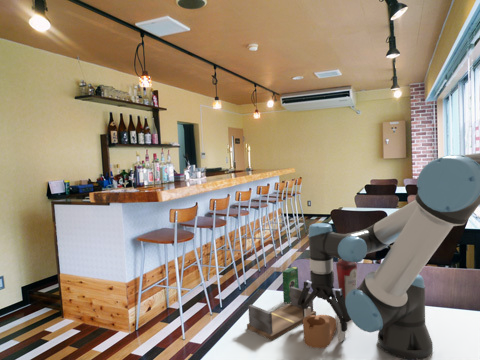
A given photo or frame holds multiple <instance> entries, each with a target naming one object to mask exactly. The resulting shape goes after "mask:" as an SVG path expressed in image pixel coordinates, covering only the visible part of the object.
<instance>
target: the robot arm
mask: <svg viewBox="0 0 480 360" xmlns="http://www.w3.org/2000/svg"><path fill="white" fill-rule="evenodd" d="M416 187H417V193H416V194H415V196H414V200H413V201H411V202H409V203H407V204H406V205H404V206H402V207H401V208H398V209H397V210H395V211H394V212H392V213H390V214H389V215H387V216H385V217H384V218H382V219H380V220H379V221H377V222H375V223H374V224H372V225H371V226H368V227H367V228H364V229H361V230H357V231H353V232H348V233H337V232H334V231H333V227H332V224H329V223H327V222H326V223H325V222H318V223H312V224H310V225H309V227H308V237H307V238H308V247H309V250H308V251H309V269H310V272H309V273H310V279H307V280H305V281H303V288H302V293H301V295H300V298H299V300H298V305H301V306H302V308H303V317H307V316H310V315H311V307H308V306H310V304H311V302H312V301H313V302H314V300H315V299H316V298H318V299H322V300H324V301H326V302H327V303H328V304H329V305H330V307H331V308H332V310H333V311H334V313H335V315H336V316H337V318H338V320H337V331H338V335H337V336H338V342H339V343H342V342H343V341H344V340H346V331H348V323H349V322H350V321H352V323H353V324H354V325H355V326H356V327H357V328H358V329H360V330H361V331H364V332H367V333H375V332H378V333H377V344H378V346H379V347H380V349H382V350H383V351H384V352H385V353H387V354H389V355H391V356H394V357H397V358H400V359H405V360H422V359H426V358H428V357H430V356H431V355H432V354H433V351H434V349H433V348H434V347H433V346H434V345H433V340H432V337H431V335H430V333H429V330H428V326H427V324H426V292H425V291H426V286H425V279H424V278H423V276H422V275H421V274H420V273H421V272H422V270H423V269H424V267H425V266H426V265H427V263H428V262H429V260H430V259H431V258H432V256H433V255H434V254H435V253H436V251H437V250H438V248H439V247H440V246H441V244H442V243H443V242H444V240H445V238H446V237H447V236H448V235H449V233H450V232H451V230H452V229H453V228H454V227H457V226H459V227H460V226H464V225H465V224H466V223H467V221H468V220H469V218H471V217H472V215H473V214H474V212H475V211H476V210H477V209H478V207H479V206H480V153H478V152H477V153H476V152H475V153H468V154H449V155H444V156H442V157H438V158H436V159H433V160H431V161H430V162H429V163H427V164H426V165H425V166H424V167H423V168H422V169H421V171H420V173H419V174H418V176H417V181H416ZM390 244H392V245H391V247H390V249H389V250H388V252H387V253H386V255H385V256H384V258H383V259H382V262H381V263H380V265H379V266H378V267H377V269H376V271H370V272H368V273H367V274H366V276H365V277H364V278H363V280H362V282H361V283H360V285H359V286H358V287H357V289H353V290H351V291H350V292H349V293H348V294H347V295H346V299H345V298H344V296H343V290H342V289H341V288H340V289H339V288H335V285H334V283H335V277H334V275H335V274H334V271H333V270H334V258H335V259H339V260H345V261H348V262H355V263H356V264H358V263H361V262H363V259H365V258H366V255H368V254H370V253H375V252H379V251H382V250H384V249H386V248H388V247H389V246H390ZM311 289H312V291H311V294H310V296H309V297H308V299H307V300H306V297H307V295H308V292H310V290H311ZM305 300H306V301H305Z"/></svg>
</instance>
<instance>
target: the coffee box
mask: <svg viewBox="0 0 480 360" xmlns="http://www.w3.org/2000/svg"><path fill="white" fill-rule="evenodd" d="M290 287H295V288H298V289H300V287H299V268H298V267H297V266H291V267H289V268H287V269H285V270H282V288H283V289H282V293H283V295H282V296H283V303H285V304H290Z"/></svg>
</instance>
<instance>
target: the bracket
mask: <svg viewBox="0 0 480 360" xmlns="http://www.w3.org/2000/svg"><path fill="white" fill-rule="evenodd" d="M302 325H303V328H302V329H303V342H304V344H305V345H306V346H308V347H309V348H313V349H324V348H327V347H329V346H330V345H331V343H332V340H333V338H334V337H335V336H334V335H335V333H336V331H337V319H336V317H333V316H331V315H329V314H328V315H327V314H316V316H315V315H310V316H307V317H305V318H304V319H303V323H302Z"/></svg>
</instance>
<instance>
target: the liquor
mask: <svg viewBox="0 0 480 360" xmlns="http://www.w3.org/2000/svg"><path fill="white" fill-rule="evenodd" d="M335 266H336V277H337V286H338V287H337V289H340V288H341V289H342V290H343V296H344V298H345V299H346V295H347V294H348V293H349V292H350V291H351V290H353V289H357V288H358V287H357V285H358V282H357V281H358V279H357V278H358V263H355V262H348V261H345V260H342V259H339V260H338V261H337V262H336V263H335Z"/></svg>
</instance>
